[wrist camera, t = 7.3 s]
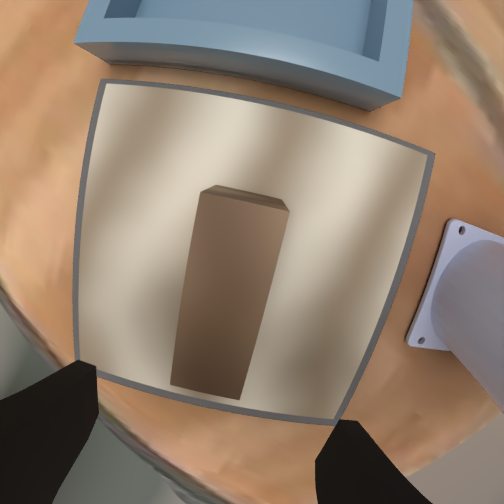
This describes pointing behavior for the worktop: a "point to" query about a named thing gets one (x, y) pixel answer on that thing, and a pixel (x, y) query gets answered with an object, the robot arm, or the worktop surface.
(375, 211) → the lid
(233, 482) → the worktop surface
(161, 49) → the dish
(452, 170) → the worktop surface
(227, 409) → the mat
